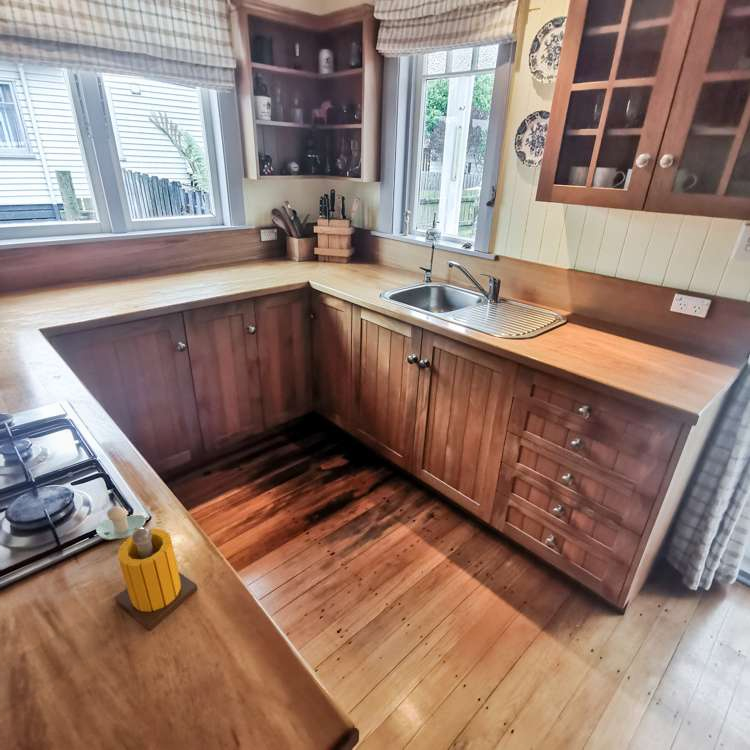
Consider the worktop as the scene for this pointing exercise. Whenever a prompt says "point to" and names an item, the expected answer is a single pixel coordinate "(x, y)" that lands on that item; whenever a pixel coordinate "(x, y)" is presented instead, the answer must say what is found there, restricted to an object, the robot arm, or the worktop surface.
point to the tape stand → (155, 617)
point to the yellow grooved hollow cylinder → (150, 572)
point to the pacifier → (119, 524)
